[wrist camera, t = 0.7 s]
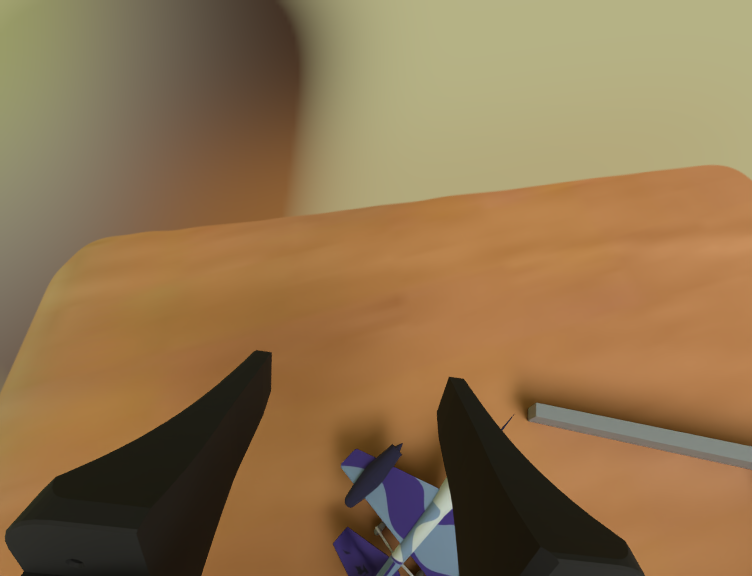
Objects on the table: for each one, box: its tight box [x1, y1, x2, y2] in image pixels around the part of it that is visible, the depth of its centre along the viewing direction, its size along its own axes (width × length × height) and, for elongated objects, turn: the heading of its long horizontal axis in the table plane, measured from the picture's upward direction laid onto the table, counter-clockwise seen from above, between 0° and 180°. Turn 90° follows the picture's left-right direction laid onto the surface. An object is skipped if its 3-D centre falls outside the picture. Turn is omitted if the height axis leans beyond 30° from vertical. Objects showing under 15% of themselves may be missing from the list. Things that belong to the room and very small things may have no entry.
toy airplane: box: [333, 415, 514, 576], centre depth 23 cm, size 13×14×4 cm
